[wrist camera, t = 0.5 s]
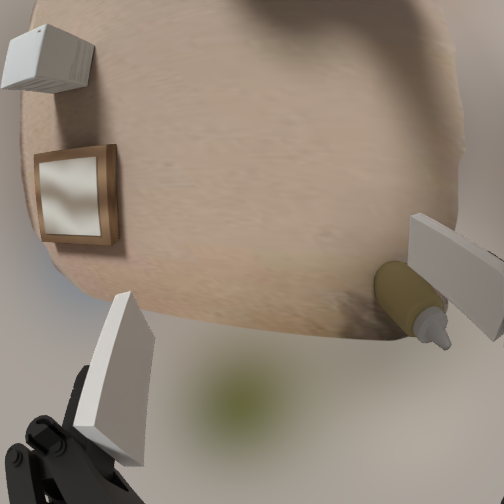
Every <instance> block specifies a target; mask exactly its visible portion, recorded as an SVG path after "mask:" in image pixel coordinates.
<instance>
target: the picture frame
mask: <svg viewBox="0 0 504 504" xmlns="http://www.w3.org/2000/svg"><path fill="white" fill-rule="evenodd" d="M34 174H35V190H36V201H37V210H38V219H39V226H40V233H41V239H42V242H56V243H73V244H91V245H108V246H112V245H113V244H114V243H115V242H116V241H118V240H119V239H120V235H119V223H118V209H117V188H116V144H109V145H98V146H89V147H80V148H73V149H65V150H59V151H52V152H46V153H40V154H35V155H34Z"/></svg>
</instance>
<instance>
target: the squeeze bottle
mask: <svg viewBox="0 0 504 504" xmlns="http://www.w3.org/2000/svg"><path fill="white" fill-rule="evenodd" d="M374 287H375V295H376V299H377V302H378V304H379V306H380V307H381V308H382V309H383V310H384V311H385V312H386V313H387V314H388V315H389V316H390V317H391V318H392V319H393V320H394V322H395V323H396V324H397V325H398V326H399V327H400V328H401V329H402V330H403V331H404V332H405V333H406V334H407V335H408V336H410V337H417V338H418V340H419V341H421V342H422V343H429V342H432V341H433V342H434V343H435V344H437V345H438V346H439V347H441V348H442V349H443V350H448V349H449V348H450V346H451V341H450V339H449V337H448V334H447V332H446V330H445V328H446V326H447V321H448V320H447V316H446V314H445V313H444V312H443V302H442V300H441V299H440V297H439V296H438V295H437V293H436V292H435V291H434V289H433V288H432V287H431V286H430V284H429V283H428V282H427V281H426V280H425V279H424V278H423V277H421V276H420V275H419V274H418V273H417V272H415V271H414V270H413V269H412V268H410V267H409V266H408V265H407V263H402V262H397V261H391V262H387V263H386V264H384V265H382V266H381V267H380V269H379V270H378V271H377V273H376V275H375V278H374Z"/></svg>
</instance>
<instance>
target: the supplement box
mask: <svg viewBox="0 0 504 504" xmlns="http://www.w3.org/2000/svg"><path fill="white" fill-rule="evenodd" d="M93 50H94V45H93V44H91V43H89V42H87V41H85V40H83V39H81V38H79V37H77V36H74V35H72V34H70V33H68V32H65V31H63V30H61V29H59V28H56V27H54V26H52V25H49V24H45V25H43V26H40V27H38V28H36V29H33V30H31V31H29V32H27V33H25V34H23V35H20V36H19V37H16V38H14V39H13V40H11V41H10V44H9V48H8V53H7V57H6V62H5V66H4V72H3V77H2V82H1V89H9V90H25V91H34V92H43V93H51V94H54V93H58V92H62V91H67V90H72V89H77V88H82V87H87V86H88V79H89V72H90V66H91V60H92V55H93Z"/></svg>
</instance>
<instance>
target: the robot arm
mask: <svg viewBox="0 0 504 504" xmlns="http://www.w3.org/2000/svg"><path fill="white" fill-rule="evenodd" d="M407 265H408V266H409V267H410V268H412V269H413V270H414V271H415V272H417V273H418V274H419V275H420V276H421V277H423V278H424V279H425V280H426V281H427V282H429V283H430V284H431V285H432V286H433V287H434V288H436V289H437V290H438V291H439V292H440V293H441V294H442V295H444V296H445V297H446V298H447V299H448V300H449V301H450V302H451V303H453V304H454V305H455V306H456V307H457V308H458V309H459V310H460V311H461V312H463V313H464V314H465V315H466V316H467V317H468V318H469V319H470V320H471V321H472V322H473V323H474V324H475V325H476V326H477V327H478V328H479V329H480V330H481V331H483V332H484V333H485V334H486V335H487V336H488V337H489V338H490V339H491V340H492V341H493V342H494V341H495V340H496V339H498V338H499V337H500V336H501V335H503V333H504V261H503V260H502V259H500V258H498V257H497V256H496V255H494V254H493V253H491V252H489V251H486V250H484V249H483V248H481V247H480V246H478V245H477V244H475V243H473V242H472V241H470V240H468V239H467V238H465V237H463V236H462V235H460V234H458V233H457V232H455V231H453V230H451V229H450V228H448V227H446V226H444V225H443V224H441V223H439V222H437V221H435V220H433V219H432V218H430V217H428V216H426V215H424V214H422V213H418V214H415V215H411V216H410V224H409V248H408V263H407ZM154 343H155V337H154V335H153V333H152V331H151V329H150V327H149V326H148V324H147V322H146V320H145V318H144V316H143V314H142V312H141V310H140V308H139V306H138V304H137V302H136V300H135V298H134V296H133V294H132V292H131V291H129V292H125V293H121V294H117V295H116V296H115V298H114V301H113V303H112V306H111V309H110V311H109V313H108V316H107V319H106V321H105V324H104V327H103V329H102V332H101V335H100V338H99V340H98V343H97V346H96V349H95V352H94V355H93V358H92V361H91V364H90V365H86V366H84V367H83V368H82V370H81V371H80V372H79V374H78V375H77V377H76V380H75V383H74V386H73V388H74V389H73V390H72V393H71V398H70V400H69V403H68V406H67V410H66V413H65V417H64V420H63V424H62V427H61V426H60V425H59V424H58V423H57V422H56V421H55V420H53V419H52V418H51V417H49V416H47V415H42V416H39V417H37V418H35V419H34V420H33V421H32V422H31V423H30V424H29V426H28V428H27V431H26V435H25V438H26V443H27V444H28V445H30V446H31V447H32V448H33V449H35V450H32V451H30V450H29V449H28V448H27V447H26V446H24V445H23V444H20V443H17V444H14V445H12V446H11V447H10V448H9V449H8V451H7V454H6V456H5V470H6V479H7V488H8V494H9V501H10V504H145V503H144V502H143V501H142V500H141V499H140V497H139V496H138V495H137V494H136V493H135V492H134V490H133V489H132V488H131V487H130V486H129V484H128V483H127V482H126V481H125V479H124V478H123V477H122V475H121V474H120V473H119V472H118V471H117V470H116V469H115V468H114V462H115V460H116V461H117V462H119V463H120V464H121V465H123V466H144V446H145V429H146V415H147V403H148V392H149V383H150V374H151V366H152V357H153V350H154ZM45 495H47V496H48V499H49V503H48V502H46V498H45ZM501 504H504V498H503V499H502V501H501Z"/></svg>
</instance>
